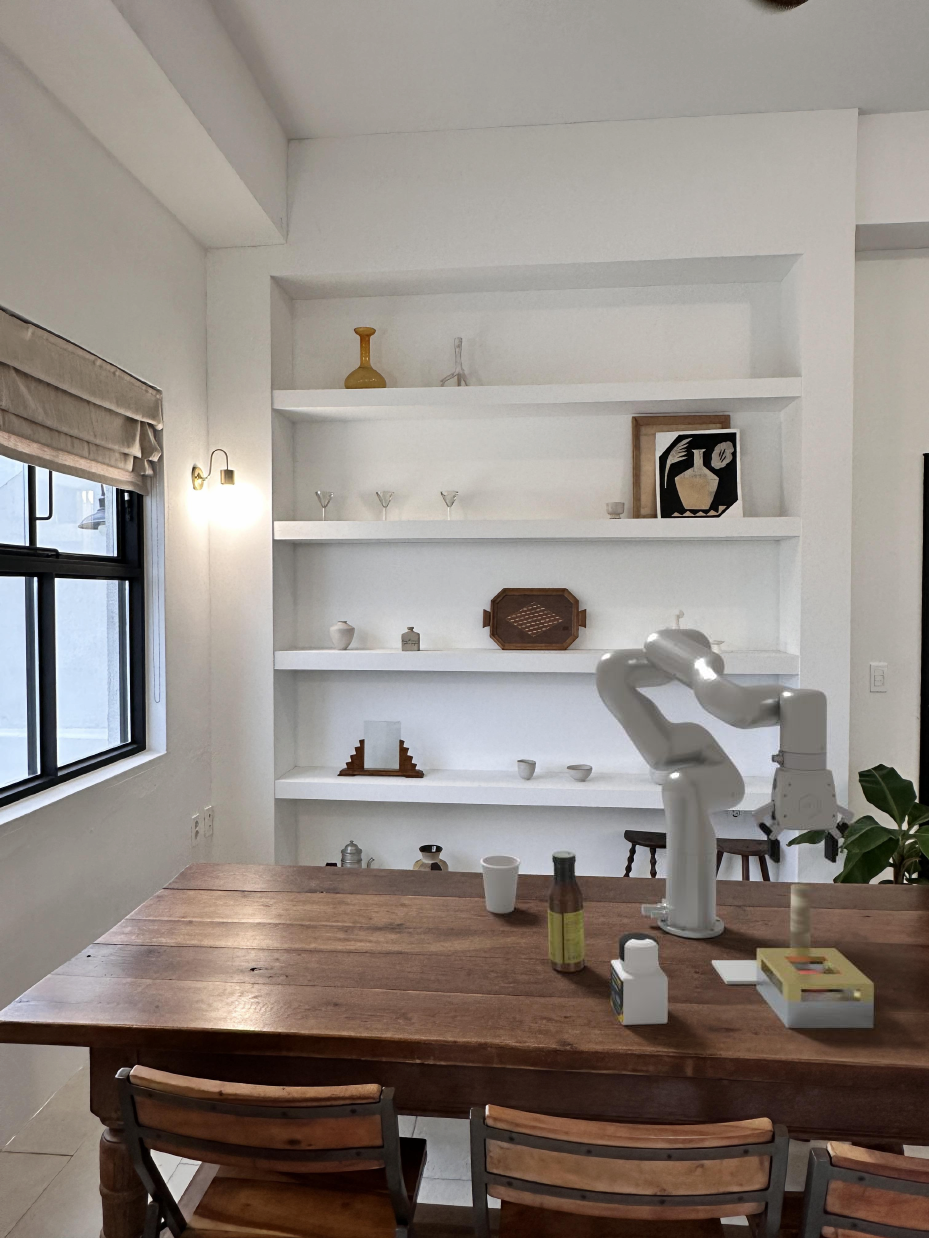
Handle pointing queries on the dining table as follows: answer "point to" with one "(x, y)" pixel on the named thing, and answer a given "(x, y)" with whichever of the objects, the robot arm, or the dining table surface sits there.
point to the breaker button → (811, 971)
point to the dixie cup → (500, 882)
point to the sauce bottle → (565, 916)
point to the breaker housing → (831, 1009)
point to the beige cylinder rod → (800, 918)
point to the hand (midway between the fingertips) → (802, 860)
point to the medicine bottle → (639, 981)
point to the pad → (737, 971)
